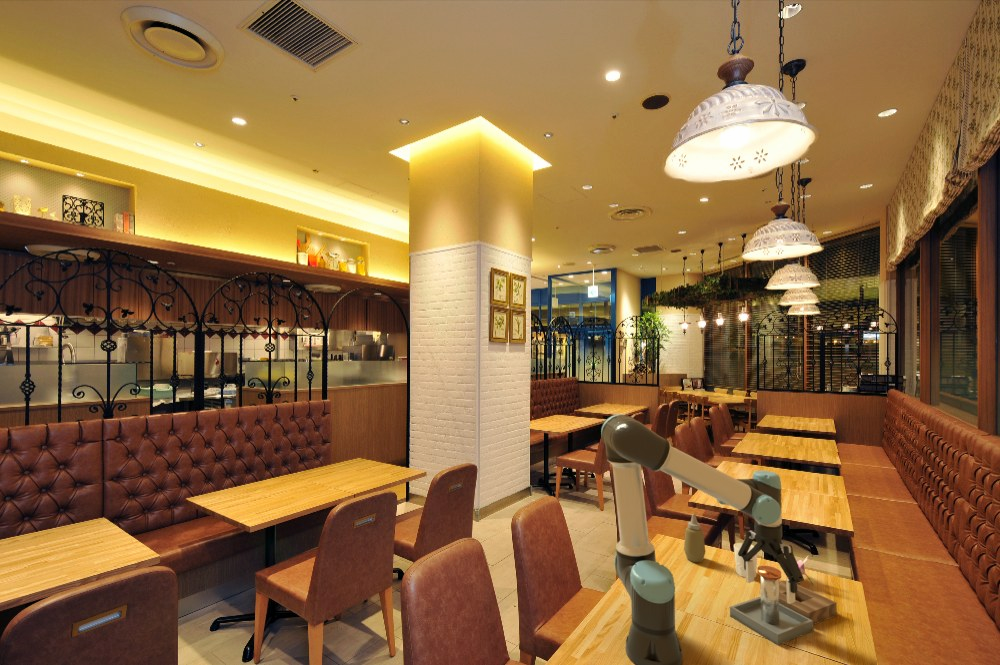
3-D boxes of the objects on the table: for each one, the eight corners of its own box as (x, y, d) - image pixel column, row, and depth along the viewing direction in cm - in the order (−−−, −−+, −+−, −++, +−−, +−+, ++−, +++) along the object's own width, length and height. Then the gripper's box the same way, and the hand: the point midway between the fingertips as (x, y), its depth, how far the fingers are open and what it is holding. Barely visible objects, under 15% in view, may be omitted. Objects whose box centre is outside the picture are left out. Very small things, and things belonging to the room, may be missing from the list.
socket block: (808, 626, 144) (808, 613, 144) (760, 600, 158) (760, 588, 158) (836, 615, 150) (836, 602, 150) (788, 591, 164) (787, 579, 164)
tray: (777, 645, 135) (777, 634, 135) (730, 616, 150) (729, 606, 150) (813, 630, 142) (813, 620, 142) (764, 604, 156) (764, 595, 156)
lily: (803, 575, 177) (787, 551, 180) (832, 576, 167) (815, 550, 170) (786, 594, 172) (771, 568, 174) (816, 595, 162) (799, 568, 164)
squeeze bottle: (687, 553, 195) (686, 509, 195) (708, 558, 190) (707, 513, 190) (681, 560, 189) (680, 515, 189) (702, 566, 184) (701, 519, 184)
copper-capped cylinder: (773, 628, 141) (772, 577, 142) (753, 617, 147) (752, 568, 148) (787, 623, 144) (786, 572, 144) (767, 612, 150) (766, 564, 150)
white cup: (736, 577, 174) (735, 550, 175) (732, 567, 182) (732, 541, 182) (760, 580, 172) (759, 552, 172) (755, 570, 180) (754, 544, 180)
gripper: (816, 534, 137) (818, 608, 136) (741, 508, 159) (742, 571, 159) (799, 539, 134) (801, 615, 133) (725, 511, 156) (726, 576, 156)
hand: (769, 591), depth 146 cm, fingers open, 13 cm apart
